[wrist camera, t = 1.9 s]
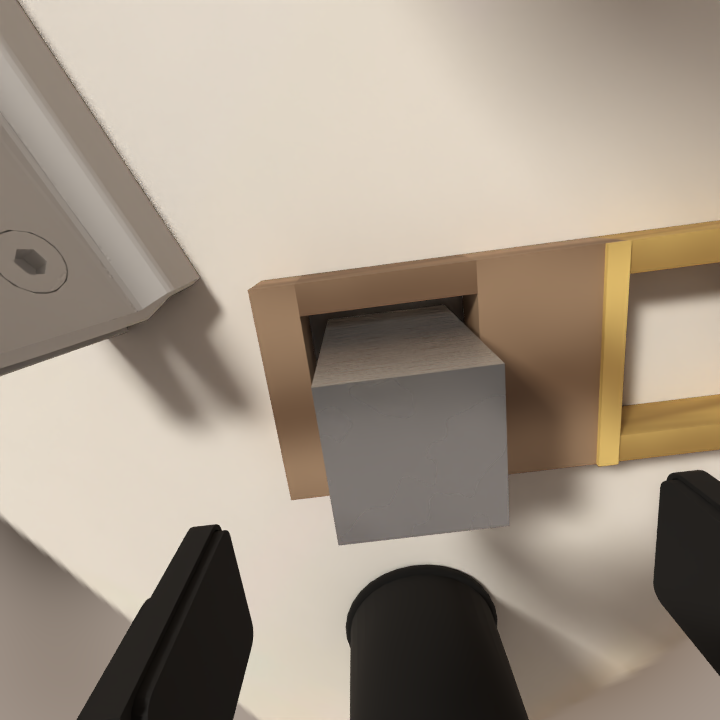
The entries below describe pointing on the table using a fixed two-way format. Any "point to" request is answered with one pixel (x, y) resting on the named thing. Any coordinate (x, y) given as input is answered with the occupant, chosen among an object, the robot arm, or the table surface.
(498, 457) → the grey rectangular block
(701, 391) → the table surface
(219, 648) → the robot arm
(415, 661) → the aerosol can
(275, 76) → the table surface
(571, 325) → the wooden slotted tray
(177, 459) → the table surface
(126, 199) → the gray curved box
